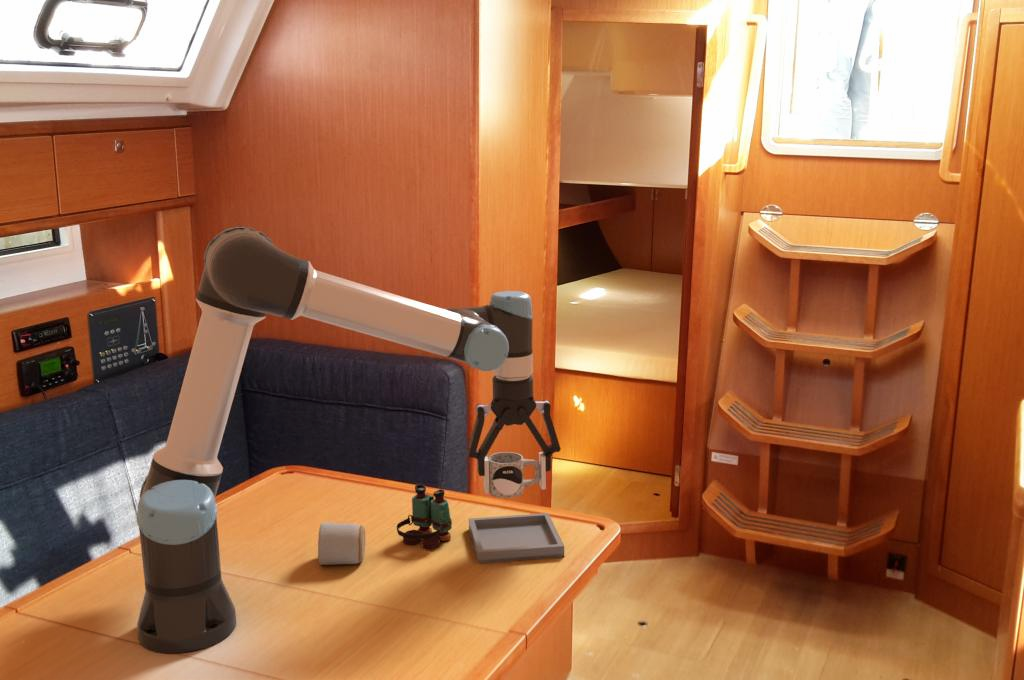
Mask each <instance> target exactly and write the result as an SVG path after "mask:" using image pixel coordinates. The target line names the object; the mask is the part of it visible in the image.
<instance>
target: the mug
mask: <svg viewBox="0 0 1024 680" xmlns="http://www.w3.org/2000/svg"><path fill="white" fill-rule="evenodd" d="M487 457H488V460H489V492H490V494H489V495H490V496H492V497H494V498H498V499H499V498H501V499H509V498H510V499H511V498H515V497H519V496H521V495H523V494H524V492H525V489H524V488H527V487H530V486H533V485H536V484H537V483H539V480H540V464H539V460H537V459H527V458H524V456H523V455H522V454H520V453H517V452H512V451H511V452H510V451H501V452H495V453H492V454H490V455H488V456H487ZM528 466H533V467H534V472H535V473H534V477H533V478H532V479H524V476H525V475H524V467H528Z"/></svg>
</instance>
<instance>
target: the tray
mask: <svg viewBox="0 0 1024 680" xmlns="http://www.w3.org/2000/svg"><path fill="white" fill-rule="evenodd" d="M468 530H469V534H470V539H471V541H472V546H473V549H474V553H475V556H476V559H477V564H479V565H480V564H489V563H490V564H491V563H502V562H503V563H506V562H516V561H517V562H518V561H531V560H543V559H545V560H546V559H555V558H556V559H557V558H565V545H564V542H563V540H562V537H561V536H560V534H559V532H558V530H557V527H556V526H555V524H554V521H553V519H552V517H551V515H550V513H549V512H544V513H531V514H530V513H528V514H517V515H516V514H514V515H501V516H488V517H474V518H468Z"/></svg>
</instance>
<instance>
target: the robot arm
mask: <svg viewBox="0 0 1024 680" xmlns="http://www.w3.org/2000/svg"><path fill="white" fill-rule="evenodd" d="M203 261H204V262H203V264H204V265H203V266H204V267H203V271H202V274H201V278H200V282H199V286H198V290H197V293H196V298H195V301H196V302H197V304H198V306H199V308H200V309H201V316H200V319H199V322H198V326H197V330H196V333H195V338H194V342H193V345H192V347H191V351H190V355H189V359H188V363H187V366H186V370H185V374H184V377H183V381H182V384H181V385H182V386H181V389H180V392H179V395H178V399H177V403H176V406H175V410H174V415H173V417H172V421H171V425H170V429H169V433H168V436H167V441H166V443H165V446H164V447H162V448H160V449H158V450H156V451H155V452H154V453H153V455H152V458H151V459H152V460H151V462H150V467H149V470H148V474H147V476H146V477H145V479H144V481H143V483H142V485H141V487H140V491H139V492H140V493H139V499H138V503H137V512H136V522H137V526H138V529H139V531H138V532H139V538H140V551H141V558H142V560H141V561H142V568H143V577H144V578H143V579H144V590H145V592H144V595H143V600H142V604H141V607H140V611H139V616H138V621H137V625H136V626H137V627H136V628H137V638H138V641H139V643H140V644H141V646H142V647H144V648H146V649H147V650H150V651H154V652H156V653H157V652H158V653H163V654H166V653H167V654H180V653H188V652H193V651H198V650H202V649H204V648H207V647H211V646H213V645H215V644H217V643H219V642H221V641H223V640H225V639H226V638H227V637H229V636H230V635H231V634H232V633H233V631H235V628H236V627H237V614H236V613H237V612H236V608H235V605H234V603H233V601H232V598H231V596H230V593H229V592H228V589H227V587H226V586H225V585H226V584H225V583H224V581H223V578H222V569H221V556H220V555H221V553H220V544H219V543H220V541H219V531H218V530H219V529H218V522H217V521H218V520H217V515H218V505H217V501H216V496H217V492H218V490H219V485H220V482H221V478H222V474H223V471H224V470H223V469H224V467H223V466H222V464H221V462H220V460H219V459H218V454H219V452H220V448H221V444H222V440H223V436H224V434H225V429H226V426H227V423H228V419H229V415H230V411H231V408H232V404H233V401H234V398H235V394H236V390H237V387H238V384H239V379H240V376H241V373H242V368H243V365H244V361H245V358H246V355H247V351H248V348H249V344H250V340H251V336H252V333H253V330H254V327H255V325H256V324H258V323H259V322H260V321H262V320H264V319H266V317H267V314H268V315H271V316H277V317H280V318H285V319H288V320H292V321H293V320H295V319H297V318H298V317H304V318H307V319H312V320H315V321H318V322H322V323H325V324H330V325H333V326H335V327H339V328H343V329H346V330H351V331H354V332H357V333H361V334H365V335H368V336H371V337H375V338H378V339H382V340H386V341H390V342H393V343H396V344H400V345H403V346H408V347H410V348H414V349H419V350H422V351H424V352H428V353H432V354H435V355H440V356H443V357H445V358H448V359H452V360H455V361H458V362H460V363H461V362H462V363H465V364H468V365H469V366H470V367H472V368H473V369H476V370H478V371H480V372H481V371H482V372H490V371H491V372H492V374H493V377H492V380H491V381H492V400H491V403H490V404H482V403H477V404H476V406H475V412H476V418H475V421H474V425H473V427H472V431H471V434H470V435H471V436H470V440H469V443H468V445H467V446H468V447H467V451H466V452H467V454H468V457H469V458H473V459H477V463H476V464H477V465H476V466H477V473H478V475H479V477H483V491H484V493H485V495H488V494H489V495H490V492H489V460H488V457H489V456H487V455H488V454H489V451H490V450H491V448H492V446H493V444H494V443H495V441H496V439H497V437H498V436H499V434H500V432H501V431H502V429H503V428H504V426H506V427H507V426H513V425H518V426H522V425H523V424H525V425H526V427H527V428H528V430H529V432H530V433H531V435H533V437H534V439H535V441H536V442H537V444H538V445H539V447H540V448H541V450H542V451H540V452H538V462H539V464H540V480H539V482H538V483H539V487H540V489H541V491H543V490H547V485H546V484H547V481H546V479H547V477H546V476H547V474H546V472H551V469H552V455H553V454H554V453H559V452H560V451H561V449H562V448H561V445H560V443H559V439H558V435H557V433H556V429H555V425H554V423H553V422H554V421H553V420H552V417H551V404H550V402H549V401H548V399H543V400H542V401H536V400H535V399H534V377H533V376H532V375H533V373H534V360H533V359H534V357H533V356H534V355H533V353H534V352H533V350H534V349H533V320H534V315H533V305H532V297H531V296H530V294H528V293H526V292H524V291H519V290H504V291H497V292H494V293H492V294H491V296H490V301H489V304H486V305H481V306H479V305H478V306H467V307H455V308H448V307H445V308H441V307H438V306H435V305H432V304H427V303H424V302H421V301H419V300H418V301H417V300H414V299H412V298H408V297H405V296H401V295H398V294H395V293H392V292H389V291H385V290H382V289H379V288H377V287H372V286H369V285H366V284H362V283H358V282H357V281H353V280H348V279H346V278H344V277H339V276H336V275H333V274H329V273H326V272H324V271H320V270H316V269H315V268H314V267H313V264H312V263H311V262H310V261H309V260H306V259H302V258H301V257H296V256H294V255H293V254H289V253H288V252H286V251H284V250H282V249H280V248H279V247H277V246H275V245H274V243H273V241H272V240H271V238H270V237H268V236H267V235H266V234H264V233H263V232H261V231H259V230H255V229H254V228H251V227H244V226H241V227H240V226H237V227H231V228H228V229H224V230H223V231H221V232H220V233H217V234H216V235H215V236H214V237H213V238H212V240H211V241H210V242H209V243H208V245H207V247H206V249H205V252H204V256H203ZM536 409H537V410H538V412H539V413H540V414H541V415H542V419H543V421H544V425H545V427H546V431H547V434H548V437H549V441H550V443H551V444H549V445H548V444H547V443H546V441H545V439H544V438H543V436H542V434H541V433H540V431H539V430H538V428H537V426H536V425H535V424H534V422H533V420H532V419H531V415H532V414H533V413H534V411H535V410H536ZM490 412H492V413H493V414H494V416H495V418H494V420H493V422H492V424H491V427H490V429H489V430H488V433H487V434H486V436H485V437H484V438H483V441H482V443H481V444H480V446H479V442H480V439H481V435H482V432H483V428H484V424H485V418H486V417H488V416H489V413H490ZM478 446H479V447H478Z"/></svg>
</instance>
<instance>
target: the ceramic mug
mask: <svg viewBox="0 0 1024 680" xmlns="http://www.w3.org/2000/svg"><path fill="white" fill-rule="evenodd" d="M319 526H320V527H319V531H318V540H317V559H318V563H319V565H320V566H329V565H330V566H334V565H356V564H357V565H358V564H360V563H362V562H363V561H364V559H365V554H366V530H365V526H364V525H361V524H358V523H345V522H343V523H339V522H325V521H323V522H321V523H320V525H319Z"/></svg>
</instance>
